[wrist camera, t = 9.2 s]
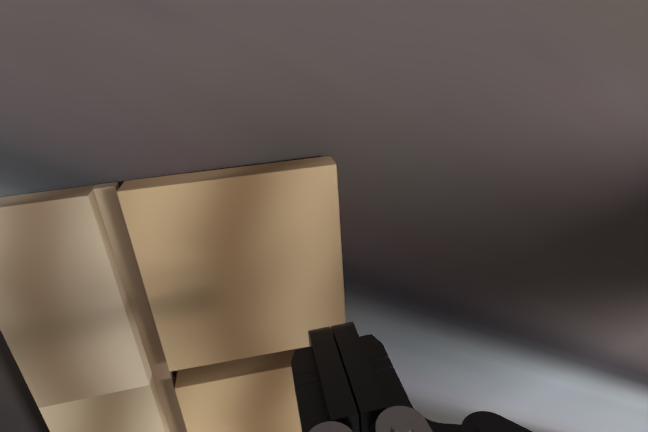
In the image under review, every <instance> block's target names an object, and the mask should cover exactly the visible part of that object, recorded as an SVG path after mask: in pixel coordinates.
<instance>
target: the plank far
mask: <svg viewBox="0 0 648 432" xmlns="http://www.w3.org/2000/svg"><path fill="white" fill-rule="evenodd" d="M308 347H310V346H308ZM303 348H306V347H303ZM298 349H301V348H298ZM295 350H296V349H292V350H287V351H281V352H276V353H270V354H265V355H259V356H254V357H248V358H243V359H237V360H232V361H226V362H221V363H215V364H210V365H204V366H199V367H193V368H188V369H182V370H178V372H177V378H176V383H175V392H176V395H177V399H178V402H179V405H180V409H181V412H182V416H183V419H184V422H185V426H186V429H187V432H302V430H301V424H300V418H299V412H298V406H297V400H296V394H295V387H294V381H293V374H292V368H291V360H292V357H293V354H294V352H295Z"/></svg>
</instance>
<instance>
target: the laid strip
mask: <svg viewBox="0 0 648 432" xmlns="http://www.w3.org/2000/svg"><path fill="white" fill-rule="evenodd" d="M119 188H120V187H119V184H118V182H112V183H105V184H97V185H89V186H82V187H74V188H66V189H59V190H51V191H44V192H36V193H28V194H21V195H13V196H5V197H0V330H1V332H2V334H3V336H4V338H5V340H6V342H7V344H8V346H9V349H10V351H11V353H12V355H13V357H14V359H15V361H16V363H17V365H18V367H19V369H20V371H21V373H22V375H23V377H24V379H25V381H26V383H27V385H28V387H29V390H30V392H31V394H32V396H33V398H34V400H35V402H36V404H37V406H38V408H39V410H40V412H41V414H42V416H43V418H44V420H45V422H46V424H47V426H48V428H49V431H50V432H187V429H186V426H185V422H184V419H183V416H182V412H181V409H180V405H179V402H178V399H177V395H176V392H175V383H176V381H175V377H174V374H173V371H171V372H169V368H168V365H167V361H166V358H165V355H164V351H163V348H162V344H161V341H160V338H159V334H158V331H157V327H156V324H155V321H154V317H153V314H152V310H151V307H150V304H149V300H148V297H147V293H146V290H145V287H144V283H143V280H142V276H141V273H140V270H139V266H138V263H137V259H136V256H135V253H134V249H133V246H132V242H131V239H130V236H129V232H128V229H127V225H126V222H125V219H124V215H123V212H122V208H121V205H120V202H119V198H118V195H117V191H118V189H119Z"/></svg>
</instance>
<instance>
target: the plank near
mask: <svg viewBox="0 0 648 432" xmlns="http://www.w3.org/2000/svg"><path fill="white" fill-rule="evenodd" d="M117 195H118V198H119V202H120V205H121V208H122V212H123V215H124V219H125V222H126V225H127V229H128V232H129V236H130V239H131V242H132V246H133V249H134V253H135V256H136V259H137V263H138V266H139V270H140V273H141V276H142V280H143V283H144V287H145V290H146V293H147V297H148V300H149V304H150V307H151V310H152V314H153V317H154V321H155V324H156V327H157V331H158V334H159V338H160V341H161V344H162V348H163V351H164V355H165V358H166V361H167V365H168V368H169V372H171V371H177V370H182V369H188V368H193V367H199V366H204V365H210V364H215V363H221V362H226V361H232V360H237V359H243V358H248V357H254V356H259V355H265V354H270V353H276V352H281V351H287V350H292V349H298V348H303V347H308V346H310V345H309V337H308V330H313V329H318V328H324V327H330V328H331V326H333V325H338V324H343V323H346V315H345V298H344V282H343V265H342V249H341V232H340V216H339V199H338V183H337V166H336V163H335V162H334V160H333V159H332V158H331V156H325V157H317V158H308V159H300V160H292V161H284V162H276V163H267V164H259V165H251V166H243V167H235V168H226V169H218V170H210V171H202V172H193V173H185V174H177V175H169V176H161V177H152V178H144V179H136V180H128V181H124V183H123V184H122V185H121V187H120V188H119V189H118V191H117Z"/></svg>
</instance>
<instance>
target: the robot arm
mask: <svg viewBox="0 0 648 432" xmlns="http://www.w3.org/2000/svg"><path fill="white" fill-rule="evenodd" d="M308 337H309V345H310V347H306V348H301V349H296V350H295V352H294V354H293V357H292V360H291V368H292V374H293V381H294V387H295V394H296V400H297V406H298V412H299V418H300V424H301V430H302V432H532V431H530V430H528V429H526V428H524V427H522V426H520V425H518V424H516V423H514V422H512V421H510V420H508V419H506V418H504V417H502V416H500V415H498V414H495V413H492V412H486V411H479V412H474V413H472V414H470V415H468V416H467V417H466V418H465V419H464V420H463V423H462V425H457V424H443V423H437V422H433V421H430V420H428V419H426V418H424V417H423V416H422V415H421V414H420V413H419V412H418V411H416V410H415V409H414V408H413V407H412V405H411V403H410V401H409V399H408V397H407V395H406V393H405V390H404V388H403V386H402V384H401V382H400V380H399V378H398V376H397V374H396V372H395V369H394V368H393V365H392V363H391V361H390V359H389V358H388V355H387V353H386V350H385V348H384V346H383V344H382V343H381V342H380V341H379V340H377V339H376V338H375V337H374V336H373V335H371V334H370V335H365V336H360V337H359V335H358V333H357V331H356V328H355V326H354V323H353V322H349V323H343V324H338V325H333V326H331V328H330V327H324V328H318V329H313V330H308Z"/></svg>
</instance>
